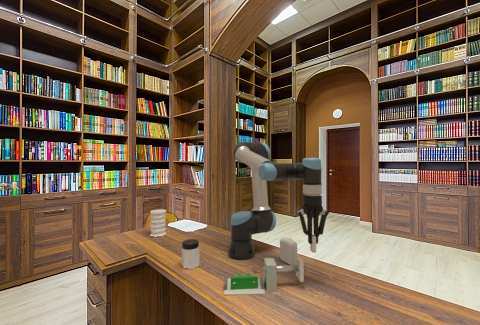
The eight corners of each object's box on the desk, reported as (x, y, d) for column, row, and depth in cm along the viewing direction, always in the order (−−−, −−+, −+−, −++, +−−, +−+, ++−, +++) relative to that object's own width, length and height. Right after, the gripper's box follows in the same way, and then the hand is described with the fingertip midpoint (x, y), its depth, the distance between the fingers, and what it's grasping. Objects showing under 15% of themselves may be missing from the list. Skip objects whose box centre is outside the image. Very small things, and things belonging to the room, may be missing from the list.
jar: (200, 262, 114) (200, 238, 114) (197, 269, 106) (197, 244, 106) (183, 262, 114) (183, 239, 114) (179, 269, 106) (179, 244, 106)
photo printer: (278, 259, 116) (278, 236, 117) (285, 257, 119) (284, 234, 119) (292, 267, 107) (292, 241, 108) (298, 265, 110) (298, 240, 110)
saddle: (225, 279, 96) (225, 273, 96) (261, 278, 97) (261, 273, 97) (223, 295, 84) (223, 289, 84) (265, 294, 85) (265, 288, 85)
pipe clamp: (257, 283, 92) (257, 272, 92) (258, 288, 88) (258, 277, 88) (230, 284, 91) (230, 273, 91) (230, 289, 87) (230, 278, 88)
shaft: (262, 275, 94) (262, 256, 94) (299, 274, 94) (299, 255, 94) (264, 282, 88) (263, 262, 88) (303, 281, 88) (303, 261, 88)
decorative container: (149, 239, 150) (149, 213, 151) (149, 234, 161) (149, 209, 162) (167, 237, 155) (167, 211, 155) (166, 232, 165) (166, 208, 166)
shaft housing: (264, 281, 94) (264, 258, 94) (273, 281, 94) (273, 258, 94) (266, 290, 87) (266, 265, 87) (276, 290, 87) (276, 265, 87)
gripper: (324, 193, 96) (325, 247, 95) (294, 193, 95) (295, 248, 95) (331, 195, 88) (332, 254, 88) (299, 196, 88) (300, 255, 87)
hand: (313, 251), depth 91 cm, fingers closed
